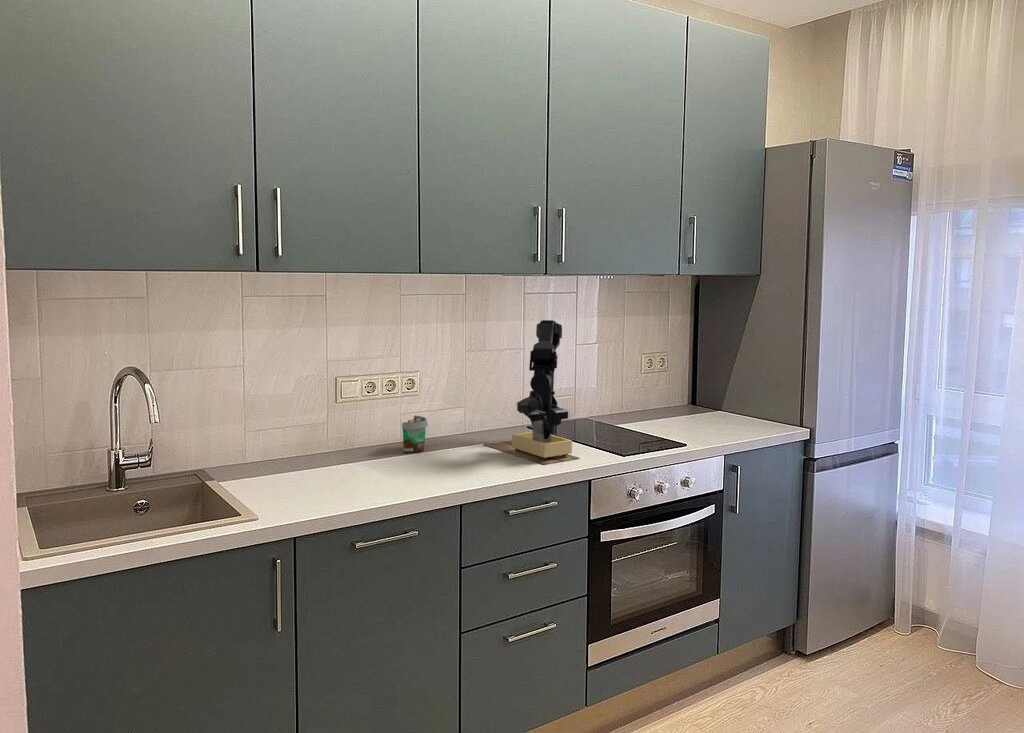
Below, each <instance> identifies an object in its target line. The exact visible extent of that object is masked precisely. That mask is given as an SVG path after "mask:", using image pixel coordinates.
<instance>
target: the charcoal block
mask: <svg viewBox="0 0 1024 733" xmlns="http://www.w3.org/2000/svg"><path fill="white" fill-rule="evenodd" d="M532 432H533V440H534V441H538V442H541V443H544V442H551V433H550V435H549V437H548V439H544V428H543V422H542V421H534V422H533V426H532Z"/></svg>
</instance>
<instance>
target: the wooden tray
mask: <svg viewBox="0 0 1024 733" xmlns="http://www.w3.org/2000/svg"><path fill="white" fill-rule="evenodd" d="M511 440H512V447H513V448H515V450H516V452H520V451H525V452H528V453H531V454H534V455H538V457H539V459H540V460H542V459H546V457H552V456H558V455H562V456H566V455H568V454H569V455H571V454H572V452H573V440H572V439H568V438H566V437H562V436H558V435H556V436H555V435H551V442H544V443H541V442H538V441H534V440H533V431H527V432H521V433H514V434H511Z"/></svg>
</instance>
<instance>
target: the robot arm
mask: <svg viewBox="0 0 1024 733" xmlns="http://www.w3.org/2000/svg"><path fill="white" fill-rule="evenodd" d="M535 335H536V338H537V339H538V342H537V343H535V344H533V347H532V350H530V357H529V367H528V369H529V371H533V375H532V378H531V379H530V382H529V384H530V388H531V389H532V390H530V391H529V396H528V397H525V398H523V399H521V400H520V401H517V403H516V405H517V407H516V411H517V412H518V413H519V414H524V416H526V417H527V418H528V419H529V420H530V422H531V426H532V427H533V422H534V421H542V422H543V428H544V439H548V437H549V435H550V433H551V435H555V436H558V435H557V434H558V433H557V428H558V426H559V425H562V420H567V419H569V411H568V410H567V409H565V408H561V407H560V406H558V401H557V399H556V397H555V395H556V394H555V393H556V391H554V384H555V382H554V381H555V371H556V369H558V359H559V358H558V356H559V355H558V354H557V351H556V350H557V349H558V348H559V346H560V344H561V339H563V326H562V324H561V323H557V322H556V321H555V320H553V319H552V320H551V319H542V320H540V322H539V323H537V324H536V332H535Z"/></svg>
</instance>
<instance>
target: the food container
mask: <svg viewBox="0 0 1024 733" xmlns="http://www.w3.org/2000/svg"><path fill="white" fill-rule="evenodd" d="M428 426H429V424H428V420H427V418H426V417H424V416H420V415H413V419H409V420H408V421H407V422H402V424H401V430H402V445H403V455H405V454H407V455H410V454H411V455H412V454H421V453H423V452H425V444H426V430H427V427H428Z"/></svg>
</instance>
